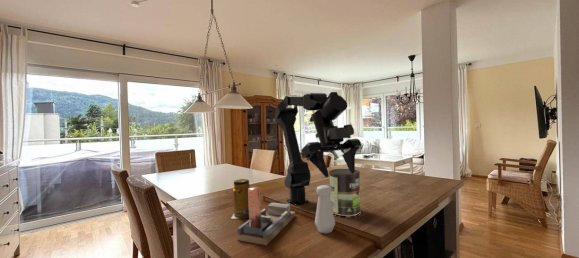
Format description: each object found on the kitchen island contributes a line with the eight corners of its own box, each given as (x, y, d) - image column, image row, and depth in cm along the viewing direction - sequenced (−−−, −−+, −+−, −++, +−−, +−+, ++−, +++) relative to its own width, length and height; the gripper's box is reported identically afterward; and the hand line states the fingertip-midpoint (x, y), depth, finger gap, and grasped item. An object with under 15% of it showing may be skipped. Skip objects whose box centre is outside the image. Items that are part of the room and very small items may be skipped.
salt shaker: (313, 226, 76) (312, 184, 76) (332, 225, 77) (331, 183, 76) (317, 235, 70) (316, 189, 70) (337, 234, 71) (336, 188, 70)
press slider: (254, 224, 75) (252, 183, 75) (272, 227, 73) (271, 185, 72) (243, 233, 69) (241, 189, 69) (262, 236, 67) (260, 190, 67)
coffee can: (365, 210, 88) (365, 170, 87) (351, 220, 80) (350, 176, 80) (340, 204, 95) (339, 167, 94) (324, 212, 87) (323, 172, 87)
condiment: (235, 211, 92) (234, 178, 91) (258, 210, 92) (257, 177, 91) (230, 219, 84) (229, 183, 84) (255, 218, 84) (254, 182, 84)
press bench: (271, 212, 89) (270, 200, 88) (295, 215, 85) (294, 203, 85) (237, 239, 69) (236, 224, 69) (266, 245, 66) (265, 228, 66)
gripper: (310, 115, 69) (327, 169, 63) (363, 113, 77) (382, 161, 71) (294, 133, 78) (308, 182, 72) (343, 130, 86) (359, 174, 80)
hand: (340, 175), depth 74 cm, fingers open, 9 cm apart
